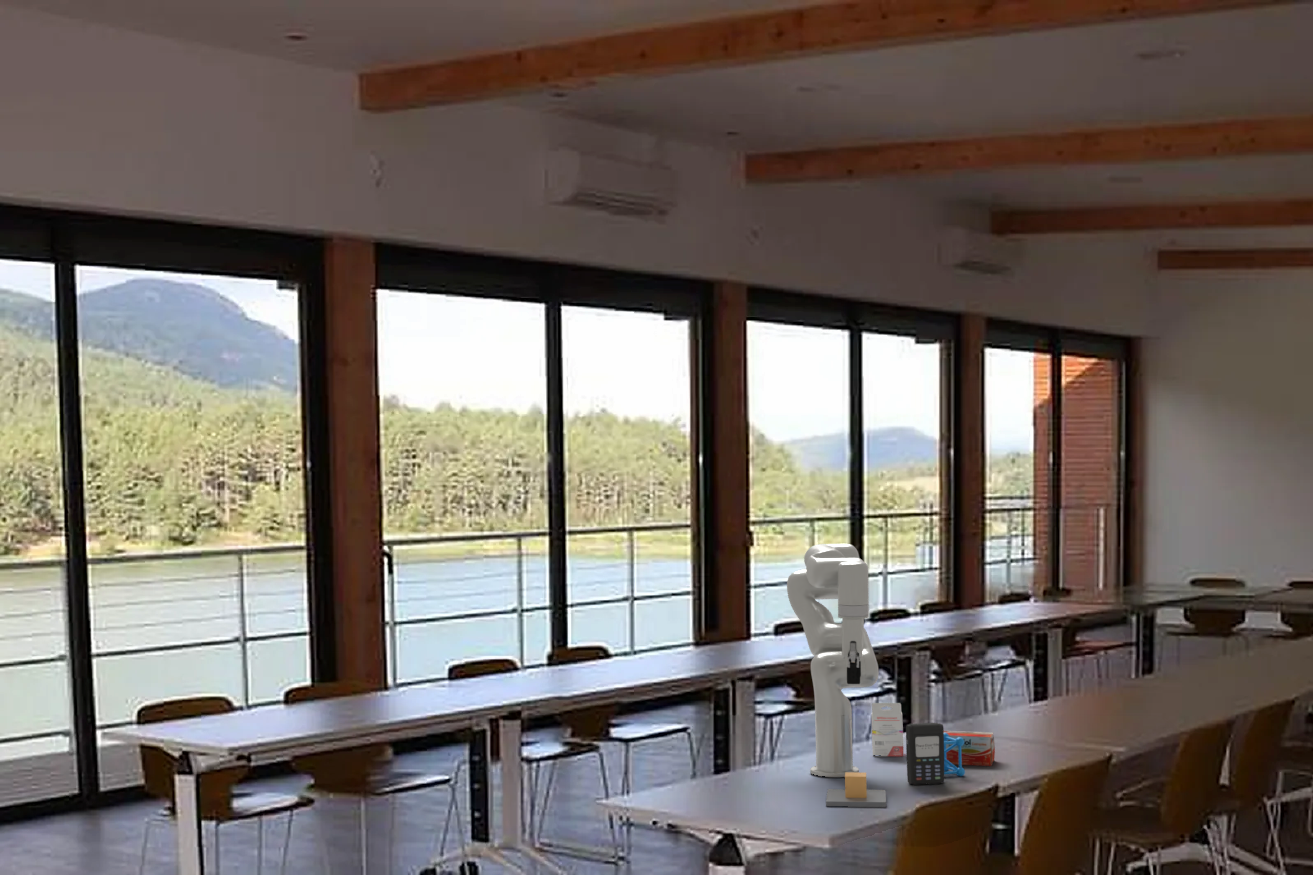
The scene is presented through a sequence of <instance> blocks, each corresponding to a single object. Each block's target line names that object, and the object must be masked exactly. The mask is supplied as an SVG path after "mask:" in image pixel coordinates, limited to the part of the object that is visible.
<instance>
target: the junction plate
mask: <svg viewBox="0 0 1313 875" xmlns="http://www.w3.org/2000/svg"><path fill="white" fill-rule="evenodd" d="M886 790H887V789H867V798H845V788H844V789H837V788H834V789H832V788H828V789H827V792H826V800H825V807H826V806H848V807H847V808H887V792H886Z"/></svg>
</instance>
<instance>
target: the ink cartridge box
mask: <svg viewBox="0 0 1313 875" xmlns="http://www.w3.org/2000/svg"><path fill="white" fill-rule="evenodd" d="M886 707H888V708H891V709H882V708H886ZM870 716H871V741H872V743H871V744H872V748H871V750H872V756H873V755H881V756H880V757H901V758H902V757H904V727H903V724H904V723H903V712H902V704H901V702H873V703H871V715H870Z"/></svg>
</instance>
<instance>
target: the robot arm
mask: <svg viewBox="0 0 1313 875" xmlns="http://www.w3.org/2000/svg"><path fill="white" fill-rule="evenodd" d="M803 558H804V559H803V560H804V561H803V562H804V565H805V567H806V568H804V569H803V568H802V569H799V570H795V571H794V572H791V574H790V575H789V576H788V578H787V582H786V591H787V596H788V601H789V603H790V606H791V608H792V610H793V613H795V615H796V617H797V619H798V620H799V621H800V623H801V625H802V627H803V632H804V635H805V638H806V642H807V644H808V647H809V650H810V652H811V654H812V656H813V658H812V659H811V661H810V674H811V679H812V686H813V695H814V714H815V715H814V719H815V721H814V722H815V723H814V724H815V726H814V730H815V764H816V765H814V766H811V768H810V769H809V770H810V771H809V772H810V774H811V775H813V774H814V775H813V776H816V775H818V776H817V777H822V776H825V777H824V778H845V772H860V768H858V766H855V765H854V762H853V761H854V759H853V758H854V756H853V755H854V754H853V753H854V752H853V721H852V720H853V715H852V714H853V712H852V711H853V710H852V709H853V707H852V703H851V701H850V699H848V697H847V696H846V695H845V694H844V692H843V691H842V689H852V688H854V689H855V688H856V689H858V688H868V687H872V686H874V685H876V683H877V681H878V679H879V673H880V672H879V664H878V661H877V658H876V655H875V652H874V648H873V646H872V644H871V641H870V637H869V635H868V632H867V630H866V629H865V621H864V620H865V619H869V618H870V616H869V615H870V613H869V610H870V609H869V606H870V605H869V601H870V600H869V566H868V564H867V563H866V562H865V561H864V560H863V559H861V558H860V554H859V551H858V550H857V548H856V547H855V546H854V545H853V544H851V543H819V544H815V545H812V546H810V547H809V548H808V549H807V550H806V551H805V554H804V557H803ZM818 600H837V618H838V619H841V623H840V622H839V623H837V622H835V620H834V616H833V615H832V613H831V611H830V610H829V609H828V608H827V607H826V606H825V605H823V604H822V603H821V602H819V601H818Z"/></svg>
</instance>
